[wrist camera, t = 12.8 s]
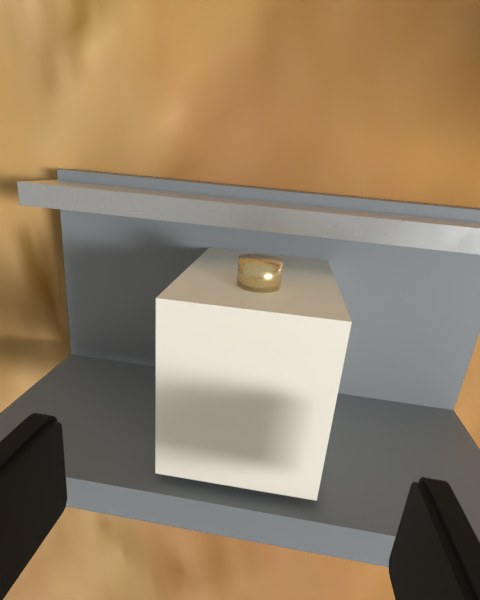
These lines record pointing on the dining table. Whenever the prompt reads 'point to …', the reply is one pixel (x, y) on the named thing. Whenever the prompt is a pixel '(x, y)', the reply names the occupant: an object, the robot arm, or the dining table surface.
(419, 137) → the dining table surface
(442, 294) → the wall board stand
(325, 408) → the cabinet block
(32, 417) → the robot arm
